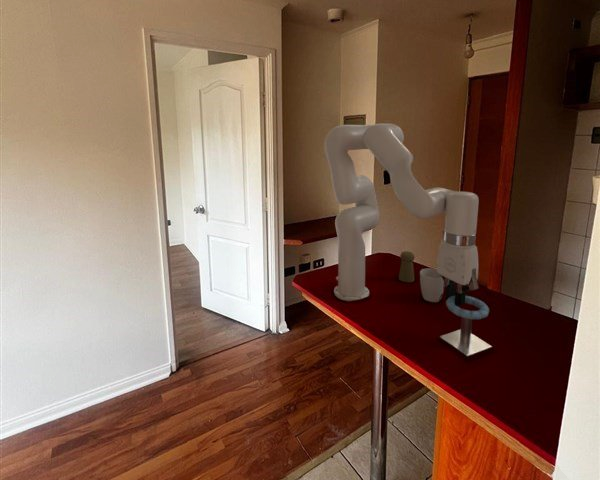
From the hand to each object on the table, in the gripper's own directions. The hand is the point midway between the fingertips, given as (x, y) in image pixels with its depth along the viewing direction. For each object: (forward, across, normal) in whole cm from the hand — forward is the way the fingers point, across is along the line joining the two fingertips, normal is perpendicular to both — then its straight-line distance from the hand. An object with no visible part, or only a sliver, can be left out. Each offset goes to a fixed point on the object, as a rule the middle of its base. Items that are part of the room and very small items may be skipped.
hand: (455, 301), depth 89 cm
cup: (+11, -18, +10) cm, 23 cm away
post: (+11, +4, 0) cm, 11 cm away
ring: (-1, +4, 0) cm, 4 cm away
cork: (+11, -35, +14) cm, 39 cm away
